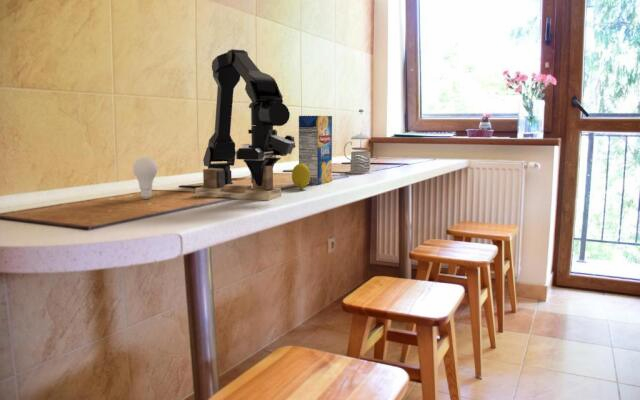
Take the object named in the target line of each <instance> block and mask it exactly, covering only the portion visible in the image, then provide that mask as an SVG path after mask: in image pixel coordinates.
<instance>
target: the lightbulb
mask: <svg viewBox="0 0 640 400" xmlns="http://www.w3.org/2000/svg"><path fill="white" fill-rule="evenodd" d="M132 172H133V174H134V176H135V177H136V179H137V182H138V186H139V189H140V197H142V198H143V199H144V200H149V198H151V197H152V189H153V183H154V179H155V177H156V175H157V173H158V165H157V163H156V162H155V160H154V159H152V158H151V157H148V156H141V157H139V158H137V159H136V160H135V161H134V163H133V164H132Z"/></svg>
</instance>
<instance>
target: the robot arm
mask: <svg viewBox="0 0 640 400" xmlns="http://www.w3.org/2000/svg"><path fill="white" fill-rule="evenodd" d="M211 71H212V78H213V79H214V82H215V83H216V85H217V89H216V91H217V92H216V104H215V105H216V107H215V123H214V132H213V134H212V136H211V137H210V138H209V139H208V143H207V147H206V150H205V153H204V156H203V159H202V161H203V167H207V169H209V168H218V169H223V170H224V171H225V185H228V184H231V185H234V182H232V181H233V180H232V178H233V177H232V170H231V167H232V166H233V167H234V166H235V161H236V160H242V161H243V162H245V164H246V166H247V168H248V170H249V172H251V173H250V175H251V174H252V176H253V178H254V180H255V182H256V184H257V186H261V185H262V178H263V168H264V165H266V166H273V168H274V166H275V164H276V163H277V162H279V160H281V157H286V156H287V155H291V154H292V152H293V150H294V149H295V148H296V142H295V137H294V136H293V135H289V134H288V135H286V136H285V137H283V136H280V135H278V131H277V129H274V127H281V126H285V125H286V124H287V123H288V121H289V119H290V115H291V113H290V110H289V108H288V106H287V105H286V104H284V100H283V97H284V96H283V95H282V92H281V91H280V89H279V86H278V85H279V84H278V83H277V81H276V79H275V78H274V77H273V76H271V75H270V74H268V73H265V72H262V71H261V70H260V69H259V67H258V66H257V65H256V64H255V63H254V62H253V60H252V59H251V58H250V57H249V53H248V52H247V50H244V49H234V48H232V49H229V50H228V51H227V52H224V53H221V54H219V55H217V56H216V57H214V59H213V60H212V63H211ZM241 78H242V80H243V81H244V82H245V87H244V90H245V92H246V95H247V96H248V98H249V99H250V101H251V103H249V104H248V108H249V109H250V119H251V120H250V127H251V129H248V130H247V131H248V132H247V133H248V134H251V136H250V137H251V144H252V145H249V148H242V147H239V148H238V149H237V150H236V143H235V142H234V140H233V138H232V136H231V126H232V125H231V124H232V115H233V103H234V102H233V101H234V90H235V87H236V86H237V85H238V83H239V82H240V81H241ZM277 156H280V157H277Z"/></svg>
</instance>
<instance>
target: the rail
mask: <svg viewBox="0 0 640 400" xmlns="http://www.w3.org/2000/svg"><path fill="white" fill-rule="evenodd" d="M202 172H203V173H202V175H203V182H202V183H203V186H199V187H195V192H194V197H199V196H213V197H212V198H217V197H231V198H230V199H235V200H236V199H240V200H254V201H255V200H257V201H258V200H259V201H271V200H274V199H277V198H281V197H282V189H281V188H278V187H276V188H275V187H273V188H271V189H268V190H261V189H253V184H251V185H250V184H228V185H225V171H224V170H223V169H218V168H209V169H208V168H203V169H202Z"/></svg>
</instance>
